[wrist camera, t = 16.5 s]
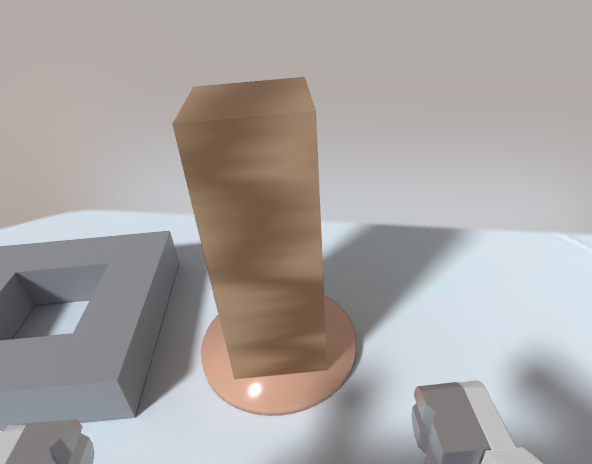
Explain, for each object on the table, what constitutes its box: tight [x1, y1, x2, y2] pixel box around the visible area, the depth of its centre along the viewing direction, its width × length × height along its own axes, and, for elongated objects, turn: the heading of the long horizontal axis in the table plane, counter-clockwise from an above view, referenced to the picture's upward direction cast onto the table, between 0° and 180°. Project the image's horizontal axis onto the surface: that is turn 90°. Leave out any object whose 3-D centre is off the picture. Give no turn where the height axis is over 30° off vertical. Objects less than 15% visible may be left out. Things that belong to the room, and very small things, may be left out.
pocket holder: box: [0, 231, 179, 431], centre depth 26 cm, size 13×13×3 cm
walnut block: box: [173, 77, 327, 379], centre depth 20 cm, size 5×5×14 cm
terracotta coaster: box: [201, 296, 356, 416], centre depth 24 cm, size 9×9×1 cm
